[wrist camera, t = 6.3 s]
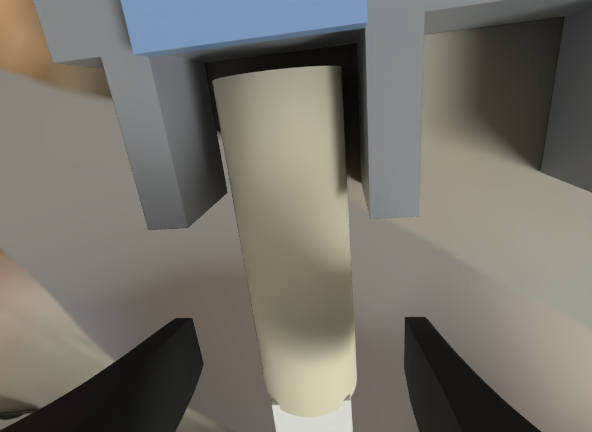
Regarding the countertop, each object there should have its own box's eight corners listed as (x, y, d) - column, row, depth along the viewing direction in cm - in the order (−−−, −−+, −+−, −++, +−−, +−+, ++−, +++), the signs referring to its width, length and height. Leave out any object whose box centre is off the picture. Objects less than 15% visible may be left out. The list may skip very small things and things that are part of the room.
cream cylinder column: (352, 378, 15) (366, 458, 12) (275, 383, 15) (268, 463, 12) (334, 72, 11) (349, 61, 7) (227, 84, 11) (195, 78, 8)
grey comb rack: (870, 150, 10) (1225, 188, 6) (166, 196, 13) (93, 240, 9) (1004, -122, 7) (1702, -349, 4) (122, 17, 11) (2, -25, 7)
